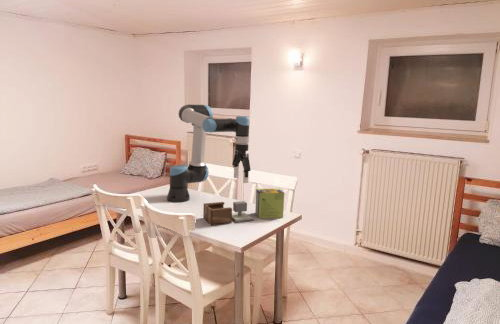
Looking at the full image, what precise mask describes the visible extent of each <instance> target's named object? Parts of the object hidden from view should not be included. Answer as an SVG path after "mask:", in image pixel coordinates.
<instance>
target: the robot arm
mask: <svg viewBox="0 0 500 324" xmlns="http://www.w3.org/2000/svg"><path fill="white" fill-rule="evenodd" d="M178 118H179V119H180V121H182V122H183V123H185V124H186V123H187V124H191V125H192V127H193V129H192V144H191V145H192V146H191V159H190V160H191V161H189V163H188V165H187V164H175V165H173V166H171V167H170V168H169V190H168V192H167V197H166V199H167V201H168V202H172V203H184V202H187V201H190V198H191V197H190V196H191V195H190V192H189V190H188V184H194V183H201V182H205V181H206V180H207V179H208V178H209V173H210V172H209V167H208V166H207V163H206V162H205V150H206V136H207V133H227V132H228V133H235V137H234V140H235V145H234V149H235V151H234V155H233V158H232V159H233V160H232V166H233V179H239V175H240V174H239V173H240V172H239V171H240V169H239V166H240V162H241V163H242V167H243V170H242V173H243V176H242V178H243V179H242V184H247V183H249V172H251V170H252V169H251V164H250V158H249V153H247V152H248V151H249V141H250V118H249V116H244V115H243V116H241V115H238V116H236V118H215V117H214V113H213V109H212V108H211V107H210V106H209V105H207V104H185V105H183V106H182V107H180V108H179V110H178Z"/></svg>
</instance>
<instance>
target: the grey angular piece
mask: <svg viewBox="0 0 500 324" xmlns="http://www.w3.org/2000/svg"><path fill="white" fill-rule="evenodd" d="M247 210H248V202H246V201H245V200H243V201H241V200H240V201H233V203H232V219H233V220H235V221H242V220H250V219H253V218H252V217H251V216H249V215H248V214H247V213H246V212H247Z"/></svg>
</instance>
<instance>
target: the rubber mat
mask: <svg viewBox="0 0 500 324" xmlns="http://www.w3.org/2000/svg"><path fill="white" fill-rule="evenodd" d="M254 221H255V219H254V218H252V219H250V220H242V221H235V220H233V219H232V223H235V224H240V223H248V222H254Z"/></svg>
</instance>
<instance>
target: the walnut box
mask: <svg viewBox="0 0 500 324" xmlns="http://www.w3.org/2000/svg"><path fill="white" fill-rule="evenodd" d="M224 205H225V202H224V201H217V202H208V203H207V202H206V203H205V202H204V203H203V214H202V215H203V219H204V220H205V221H206V222H207V223H208V224H209V225H210V226H212V227H213V226H219V225H220V226H221V225H227V224H232V223H233V221H232V213H233V207H224Z"/></svg>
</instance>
